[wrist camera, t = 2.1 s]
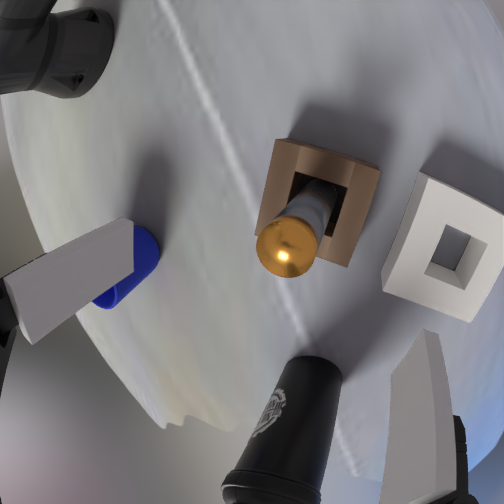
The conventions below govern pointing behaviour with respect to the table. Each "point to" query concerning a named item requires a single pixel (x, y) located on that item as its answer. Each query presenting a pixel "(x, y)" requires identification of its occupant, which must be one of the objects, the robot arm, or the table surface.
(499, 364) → the table surface
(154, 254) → the mug
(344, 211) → the mount block
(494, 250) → the dock block
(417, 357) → the robot arm
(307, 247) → the pin
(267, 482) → the water bottle
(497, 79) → the table surface
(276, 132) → the table surface
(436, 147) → the table surface
